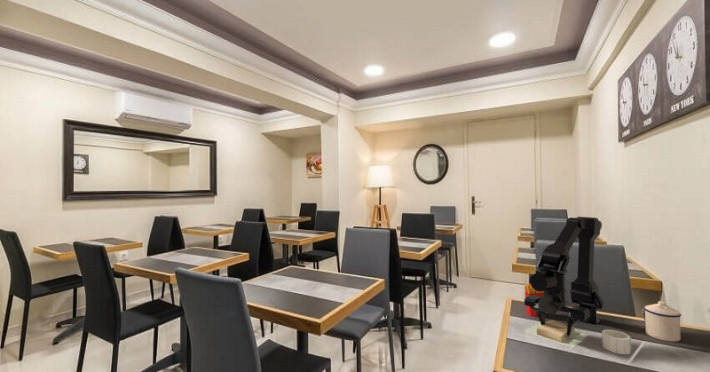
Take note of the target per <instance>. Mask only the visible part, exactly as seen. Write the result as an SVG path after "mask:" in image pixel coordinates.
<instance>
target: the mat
mask: <svg viewBox="0 0 710 372" xmlns="http://www.w3.org/2000/svg"><path fill="white" fill-rule="evenodd" d="M545 323H547V322H546V321H545ZM540 326H542V325H541V323H540V321H539V322H537V323H536V324H534V325H532V326H531V327H529V328H528V329H526V330H524V331H523V332H524V333H527V334H530V335H533V336H536V337H539V338H542V339H545V340H547V341H551V342H554V343H556V344H559V345H563V346H566V347H568V348H571V349H574V348H575V347H576V346H578V345H579V344H580V343H581V342H583V341H584V340H585V339H586V338H587V337H588V336H589V335H588V334H587V333H586V334H585V333H582V332H579V331H576V330H574V333H573V334H571V335H570V336H569V337H568V338H566V339H565V340H564V341H562V342H558V341H555V340H552V339H549V338H546V337H543V336H540V335H537V328H539V327H540Z"/></svg>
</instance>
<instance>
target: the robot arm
mask: <svg viewBox="0 0 710 372" xmlns="http://www.w3.org/2000/svg"><path fill="white" fill-rule="evenodd" d="M565 222H566V223H565V225H564V227H563V228H562V230H561V231H560V233H559V235H558V236H557V238H556V239H555V241H554V242H553V243H551V244H549V245H547V246H546V247H545V249H544V250H543V251H542V252H541V255H540V256H539V259H538V261H537V265H536V270H535V273H533V274H532V275H531V276H530V278H529V284H531V286H532V287H533V288H534V289H535V290H536V291H544V294H543V296H542V297H539V296H535V295H530V296H528V297H526V298H524V300H523V302H524V303H523V305H524V306H525V307H526V306H530V308H531V309H533V310H534V311H535V312H536V314H537V315H538V317H537V318H538V319H539V320H538V321H539V322H540V323H541V325H544V324H545V322H546V313H547V314H549V315H556V313H557V312H564V313H568V316H567V317H566V321H567V323H566V324H567V336H569V335H570V333H571V331H572V329H573V327H574V328H575V324H576V323H577V322H582V323H586V324H591V325H597V324H599V323H600V322H601V320H600V319H598V316H597V312H598V311H597V310H602V309H603V307H604V300H603V299H602V296H601V295H600V293H599V286H598V284H596V282H595V281H594V261H595V260H594V259H595V258H594V253H595V241H596V240H597V238H599V236H600V234H601V230H602V227H603V224H602V221H601V220H599V219H598V218H597V217H591V216H577V217H571V216H570V217H568V218H566V221H565ZM577 239H578V249H577V252H578V253H577V273H576V274H577V275H576V278H575V280H573V281H571V282H570V291H569V294H570V298H571V303H572V304H577V305H574V306H572V307H570V306H567V301H566V293H567V289H566V288H565V287H566V283H565V282H566V276H565V275H566V273H568V270H567V267H568V265H569V263H570V259H571V257H570V256H571V255H570V250H571V248H572V247H573V245H574V243H575V241H576V240H577Z"/></svg>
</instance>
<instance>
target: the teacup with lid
mask: <svg viewBox="0 0 710 372" xmlns="http://www.w3.org/2000/svg"><path fill="white" fill-rule="evenodd" d="M641 316H642V318H643V320H644V322H645V324H644V325H645V333H646V335H648V336H650V337H651V338H655V339H657V340H660V341H665V342H672V343H676V342H679V341H681V316H682V313H681V312H680V311H679V310H677V309H675V308H673V307H671V306H669V305H667V303H666V302H665V301H661V300H659V301H657V303H653V304H647V305H644V307H643V308H642V310H641Z"/></svg>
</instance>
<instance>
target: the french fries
mask: <svg viewBox="0 0 710 372" xmlns="http://www.w3.org/2000/svg"><path fill="white" fill-rule="evenodd" d="M523 287H524V297H525V298H526V297H528V296H530V295H535V296H539V297H542V296H543V294H544V291H536V290H535V289H534V288H533V287H532V286H531V284H530V283H528V284H526V285H524V286H523ZM525 298H524V299H525ZM525 308H526V315H527V316H529V317H534V318H538V315H537V314H536V312H535V311H534V310H533V309H531V308H530V306H526V305H525Z"/></svg>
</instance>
